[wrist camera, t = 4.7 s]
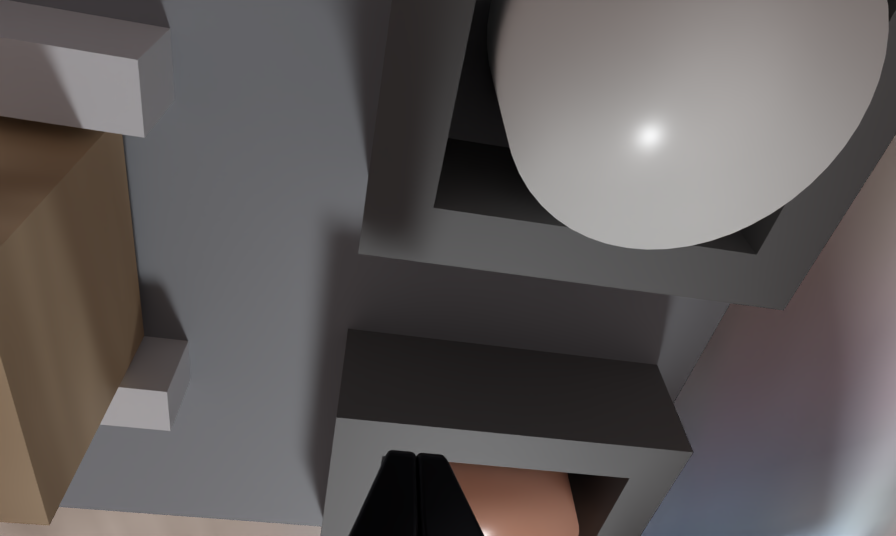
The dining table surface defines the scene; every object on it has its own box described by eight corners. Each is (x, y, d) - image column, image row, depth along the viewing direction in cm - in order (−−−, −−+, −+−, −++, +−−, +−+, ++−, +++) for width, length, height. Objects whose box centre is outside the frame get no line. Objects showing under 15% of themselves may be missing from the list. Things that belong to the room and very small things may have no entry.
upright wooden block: (119, 115, 11) (-25, 273, 7) (144, 336, 14) (49, 525, 10) (-36, 91, 11) (-266, 243, 7) (22, 322, 13) (-119, 513, 10)
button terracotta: (581, 400, 16) (605, 489, 14) (534, 506, 18) (548, 595, 16) (402, 381, 15) (399, 471, 13) (378, 494, 18) (373, 584, 16)
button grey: (847, -104, 9) (975, -71, 7) (710, 182, 11) (773, 268, 9) (530, -178, 8) (565, -167, 6) (460, 142, 11) (469, 224, 9)
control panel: (979, -307, 10) (1304, -362, 6) (578, 489, 21) (611, 632, 18) (-739, -805, 7) (-2002, -1453, 3) (-131, 427, 18) (-265, 583, 15)
